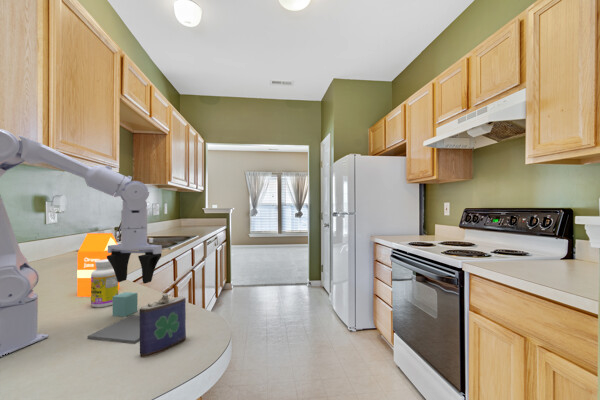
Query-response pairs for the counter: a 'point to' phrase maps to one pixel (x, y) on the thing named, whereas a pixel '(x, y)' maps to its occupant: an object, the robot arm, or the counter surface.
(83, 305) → the counter surface
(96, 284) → the supplement bottle
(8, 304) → the robot arm
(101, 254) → the orange juice
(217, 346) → the counter surface
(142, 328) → the flask
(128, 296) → the teal block
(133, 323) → the mat
